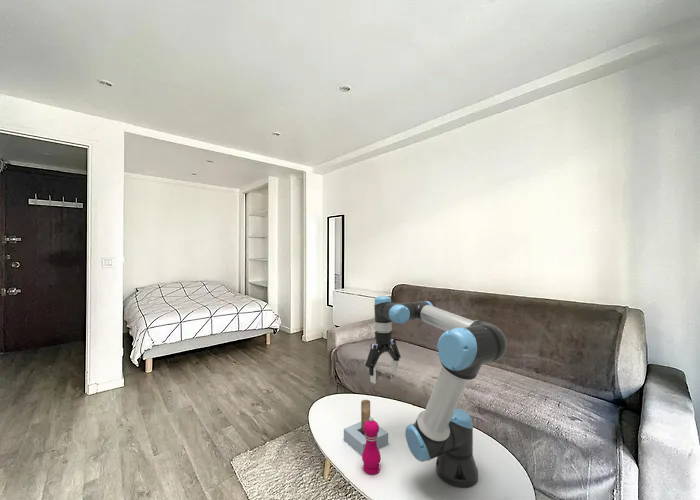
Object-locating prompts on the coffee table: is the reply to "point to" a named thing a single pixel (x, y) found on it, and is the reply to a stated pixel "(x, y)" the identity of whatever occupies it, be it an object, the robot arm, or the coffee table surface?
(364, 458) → the pepper mill
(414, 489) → the coffee table surface
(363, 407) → the dowel
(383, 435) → the bore block
